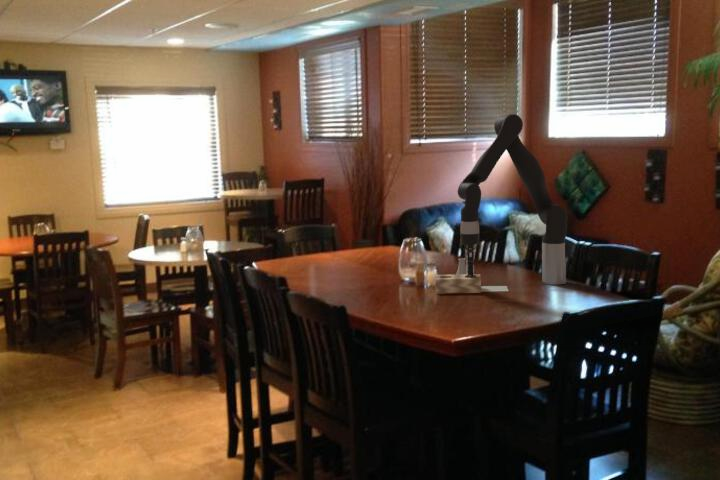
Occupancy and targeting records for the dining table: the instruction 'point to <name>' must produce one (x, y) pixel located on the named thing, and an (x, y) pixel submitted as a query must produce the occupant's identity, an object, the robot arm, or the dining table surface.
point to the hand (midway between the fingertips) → (470, 273)
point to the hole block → (458, 284)
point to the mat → (493, 288)
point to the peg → (467, 270)
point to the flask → (461, 266)
